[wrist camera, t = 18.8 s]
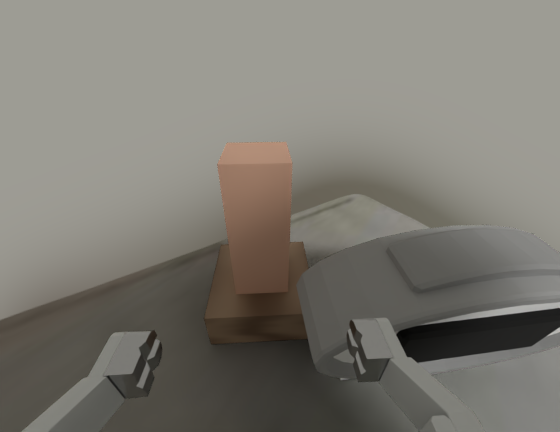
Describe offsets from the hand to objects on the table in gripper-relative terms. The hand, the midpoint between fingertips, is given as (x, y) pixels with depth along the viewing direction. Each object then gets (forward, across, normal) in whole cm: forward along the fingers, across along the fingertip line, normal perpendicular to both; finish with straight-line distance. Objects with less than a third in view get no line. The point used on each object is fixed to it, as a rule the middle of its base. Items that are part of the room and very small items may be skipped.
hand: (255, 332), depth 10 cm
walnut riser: (+12, 0, +13) cm, 18 cm away
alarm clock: (+6, -14, +13) cm, 20 cm away
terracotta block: (+12, 0, +9) cm, 15 cm away
